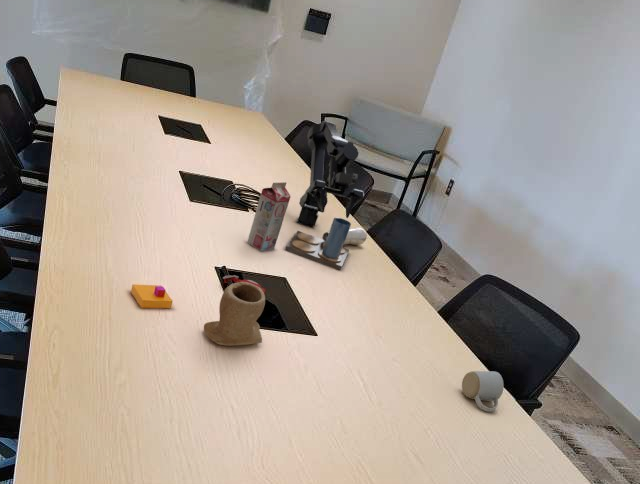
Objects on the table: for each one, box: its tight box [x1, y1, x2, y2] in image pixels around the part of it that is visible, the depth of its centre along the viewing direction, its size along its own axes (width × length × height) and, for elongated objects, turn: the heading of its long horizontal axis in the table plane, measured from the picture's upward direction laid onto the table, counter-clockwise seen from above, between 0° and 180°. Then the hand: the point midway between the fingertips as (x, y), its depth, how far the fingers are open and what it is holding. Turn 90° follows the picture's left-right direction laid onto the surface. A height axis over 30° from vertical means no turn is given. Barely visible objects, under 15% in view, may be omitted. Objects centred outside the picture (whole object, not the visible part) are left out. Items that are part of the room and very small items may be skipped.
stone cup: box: [203, 282, 266, 346], centre depth 161 cm, size 15×12×15 cm
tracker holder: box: [222, 274, 266, 294], centre depth 189 cm, size 12×4×10 cm
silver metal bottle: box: [322, 227, 367, 246], centre depth 248 cm, size 6×7×20 cm
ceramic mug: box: [461, 370, 505, 413], centre depth 172 cm, size 11×8×8 cm
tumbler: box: [322, 217, 352, 259], centre depth 227 cm, size 6×6×12 cm
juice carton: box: [246, 181, 292, 252], centre depth 219 cm, size 7×7×22 cm
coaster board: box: [284, 230, 350, 271], centre depth 235 cm, size 20×20×2 cm
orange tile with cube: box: [130, 284, 173, 309], centre depth 169 cm, size 8×8×4 cm
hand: (335, 214), depth 231 cm, fingers open, 9 cm apart
